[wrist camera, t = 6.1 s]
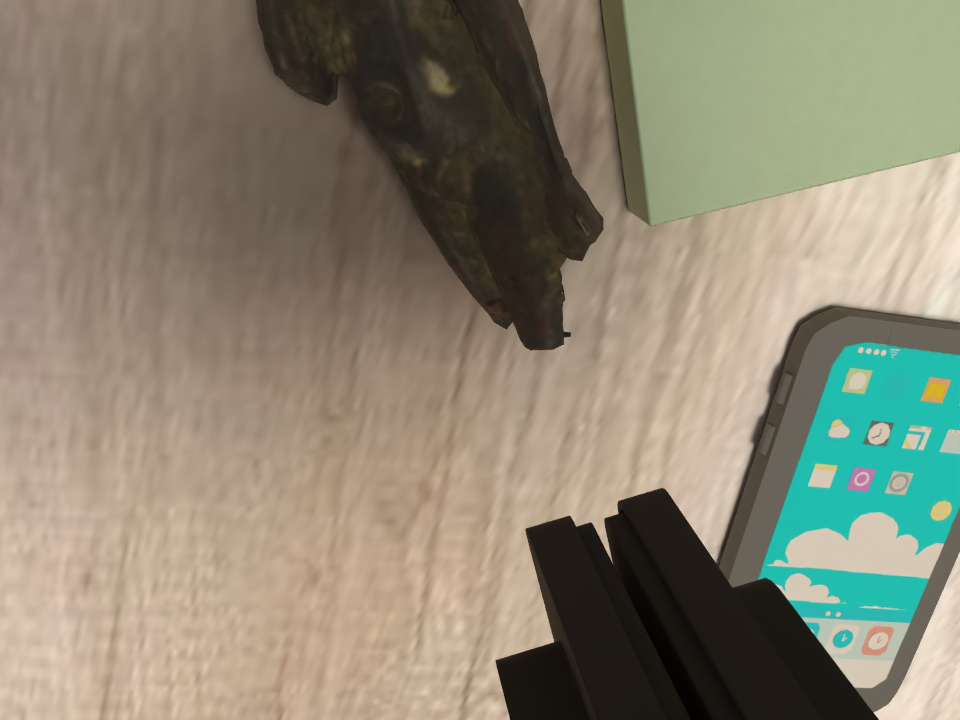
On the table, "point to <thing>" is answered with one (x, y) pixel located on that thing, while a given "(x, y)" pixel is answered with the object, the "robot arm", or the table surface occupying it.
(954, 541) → the smartphone
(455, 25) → the statue
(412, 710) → the table surface
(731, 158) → the scale
